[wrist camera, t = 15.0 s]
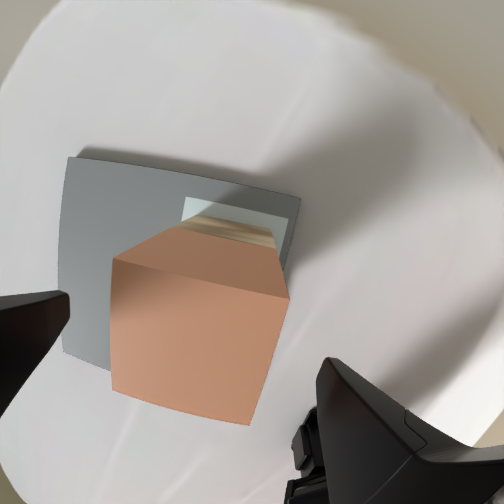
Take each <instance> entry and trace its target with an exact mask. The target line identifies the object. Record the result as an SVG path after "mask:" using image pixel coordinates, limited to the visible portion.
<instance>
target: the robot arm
mask: <svg viewBox="0 0 504 504" xmlns="http://www.w3.org/2000/svg"><path fill="white" fill-rule="evenodd" d="M69 319H70V296H69V294H68V293H66V292H63V291H61V290H55V291H46V292H37V293H28V294H19V295H9V296H0V418H1V416H2V415H3V413H4V412H5V410H6V409H7V407H8V406H9V404H10V403H11V401H12V400H13V399H14V397H15V396H16V394H17V393H18V391H19V390H20V389H21V387H22V386H23V385H24V383H25V382H26V380H27V379H28V378H29V376H30V375H31V374H32V372H33V371H34V370H35V368H36V367H37V366H38V364H39V363H40V362H41V361H42V359H43V358H44V357H45V355H46V354H47V353H48V351H49V350H50V349H51V347H52V346H53V344H54V343H55V341H56V340H57V338H58V336H59V335H60V333H61V332H62V330H63V329H64V327H65V326H66V324H67V323H68V321H69ZM316 396H317V409H312V410H310V411H309V413H308V415H307V417H306V419H305V421H304V423H303V425H301V426H300V427H299V428H298V430H297V432H296V434H295V436H294V438H293V440H292V443H293V444H292V445H291V448H292V450H293V452H294V461H295V469H296V470H299V471H301V478H299V479H296V480H294V479H293V480H289V481H288V482H287V488H286V493H285V500H284V504H504V445H498V446H492V447H486V448H474V447H470V446H467V445H465V444H463V443H461V442H459V441H457V440H455V439H454V438H452V437H450V436H448V435H447V434H445V433H443V432H441V431H440V430H438V429H436V428H434V427H433V426H431V425H430V424H428V423H426V422H425V421H423V420H422V419H420V418H419V417H417V416H416V415H414V414H413V413H411V412H410V411H409V410H407V409H406V410H405V408H404V407H403V406H402V405H400V404H399V403H397V402H396V401H395V400H393V399H392V398H390V397H389V396H388V395H386V394H385V393H384V392H382V391H381V390H379V389H378V388H377V387H375V386H374V385H373V384H371V383H370V382H369V381H367V380H366V379H365V378H363V377H362V376H360V375H359V374H358V373H356V372H355V371H354V370H352V369H351V368H350V367H348V366H347V365H346V364H344V363H343V362H342V361H340V360H339V359H337V358H331V357H327V358H325V359H324V361H323V363H322V366H321V368H320V371H319V373H318V375H317V378H316ZM314 413H315V414H314Z"/></svg>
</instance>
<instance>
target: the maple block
mask: <svg viewBox="0 0 504 504" xmlns="http://www.w3.org/2000/svg"><path fill="white" fill-rule="evenodd" d="M172 227H176V228H180V229H185V230H189V231H194V232H199V233H203V234H208V235H212V236H217V237H221V238H226V239H230V240H235V241H239V242H244V243H248V244H253V245H257V246H262V247H266V248H271V249H275V250H276V246H275V242H274V239H273V235H272V232H271V229H267V228H263V227H258V226H253V225H249V224H244V223H239V222H234V221H229V220H224V219H220V218H215V217H210V216H205V215H200V214H196V215H194V216H192V217H190V218H188V219H186V220H184V221H182V222H180V223H178V224H176V225H174V226H172Z"/></svg>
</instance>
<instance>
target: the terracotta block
mask: <svg viewBox="0 0 504 504" xmlns="http://www.w3.org/2000/svg"><path fill="white" fill-rule="evenodd" d="M289 301H290V298H289V294H288V290H287V287H286V283H285V279H284V275H283V272H282V268H281V264H280V261H279V257H278V254H277V250H275V249H271V248H266V247H262V246H257V245H253V244H248V243H244V242H239V241H235V240H230V239H226V238H221V237H217V236H212V235H208V234H203V233H199V232H194V231H189V230H185V229H180V228H176V227H170V228H168V229H166V230H164V231H163V232H161V233H159V234H157V235H155V236H153V237H151V238H149V239H147V240H145V241H143V242H141V243H139V244H138V245H136V246H134V247H132V248H130V249H128V250H126V251H125V252H123V253H121V254H119V255H117V256H115V257H114V258H113V261H112V276H111V296H110V356H111V376H112V390H114V391H116V392H119V393H122V394H125V395H128V396H131V397H134V398H136V399H140V400H143V401H146V402H149V403H152V404H155V405H159V406H162V407H166V408H169V409H173V410H177V411H181V412H184V413H188V414H193V415H197V416H201V417H206V418H210V419H215V420H220V421H225V422H230V423H236V424H242V425H248V426H250V423H251V420H252V417H253V414H254V411H255V408H256V406H257V403H258V400H259V397H260V394H261V391H262V388H263V385H264V382H265V379H266V376H267V373H268V370H269V367H270V363H271V360H272V357H273V354H274V351H275V348H276V344H277V341H278V338H279V335H280V331H281V328H282V325H283V321H284V318H285V315H286V311H287V308H288V304H289Z"/></svg>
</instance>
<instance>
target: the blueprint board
mask: <svg viewBox="0 0 504 504" xmlns="http://www.w3.org/2000/svg"><path fill="white" fill-rule="evenodd" d="M300 202H301V199H300V198H297V197H293V196H288V195H284V194H280V193H276V192H272V191H267V190H263V189H259V188H254V187H250V186H245V185H241V184H236V183H231V182H226V181H222V180H217V179H212V178H207V177H201V176H196V175H191V174H185V173H180V172H174V171H168V170H163V169H156V168H150V167H144V166H138V165H131V164H124V163H117V162H110V161H102V160H94V159H86V158H77V157H68V161H67V167H66V173H65V180H64V187H63V195H62V204H61V214H60V227H59V246H58V290H61V291H63V292H66V293H68V294H69V296H70V319H69V321H68V323H67V324H66V326H65V327H64V329H63V330H62V332H61V336H62V345H63V352H65V353H67V354H70V355H72V356H74V357H76V358H79V359H81V360H83V361H86V362H88V363H91V364H93V365H96V366H98V367H101V368H103V369H106V370H109V371H111V356H110V296H111V276H112V261H113V258H114V257H115V256H117V255H119V254H121V253H123V252H125V251H126V250H128V249H130V248H132V247H134V246H136V245H138V244H139V243H141V242H143V241H145V240H147V239H149V238H151V237H153V236H155V235H157V234H159V233H161V232H163V231H164V230H166V229H168V228H170V227H172V226H174V225H176V224H178V223H180V222H182V221H184V220H186V219H188V218H190V217H192V216H194V215H196V214H200V215H205V216H210V217H215V218H220V219H224V220H229V221H234V222H239V223H244V224H249V225H253V226H258V227H263V228H267V229H271V232H272V235H273V239H274V242H275V246H276V250H277V254H278V257H279V261H280V264H281V268H282V272H283V269H284V265H285V261H286V258H287V254H288V250H289V246H290V242H291V238H292V234H293V230H294V226H295V222H296V218H297V214H298V210H299V206H300Z"/></svg>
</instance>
